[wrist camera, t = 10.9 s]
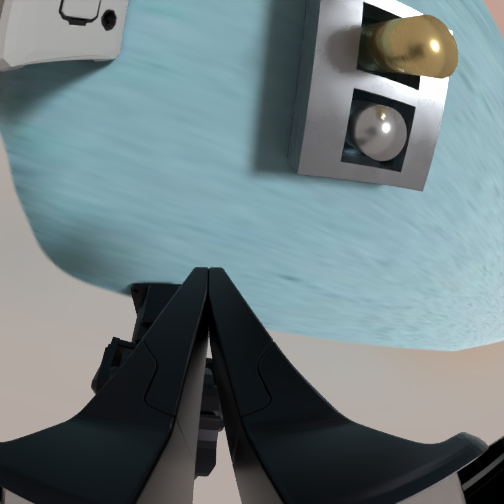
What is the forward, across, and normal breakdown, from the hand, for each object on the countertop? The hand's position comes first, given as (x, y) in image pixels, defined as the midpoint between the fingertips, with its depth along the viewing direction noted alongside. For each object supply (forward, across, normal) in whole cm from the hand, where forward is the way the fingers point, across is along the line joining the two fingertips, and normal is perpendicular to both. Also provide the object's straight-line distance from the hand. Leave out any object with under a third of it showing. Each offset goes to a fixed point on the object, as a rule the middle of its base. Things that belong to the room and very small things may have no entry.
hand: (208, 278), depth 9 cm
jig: (+12, -10, -7) cm, 17 cm away
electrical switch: (+12, +9, -12) cm, 19 cm away
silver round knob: (+12, -10, -4) cm, 16 cm away
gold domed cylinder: (+12, -10, -10) cm, 18 cm away
